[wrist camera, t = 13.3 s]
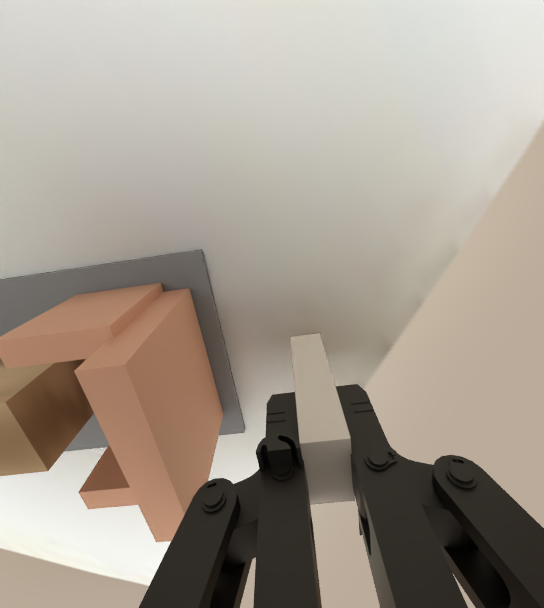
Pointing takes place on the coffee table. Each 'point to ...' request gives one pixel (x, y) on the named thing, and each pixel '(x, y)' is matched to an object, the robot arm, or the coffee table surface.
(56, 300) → the seat
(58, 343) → the endcap
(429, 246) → the coffee table surface
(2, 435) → the tan wooden block
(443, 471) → the robot arm
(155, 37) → the coffee table surface
